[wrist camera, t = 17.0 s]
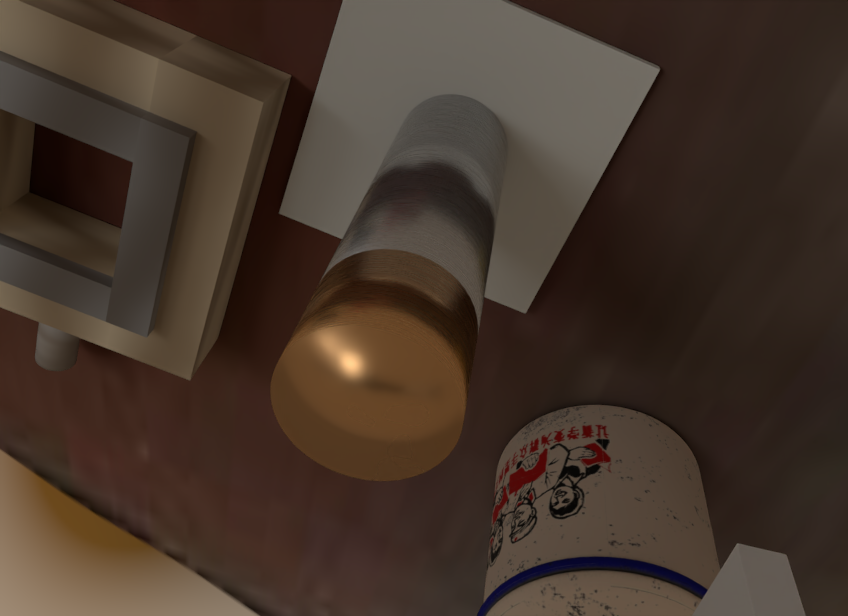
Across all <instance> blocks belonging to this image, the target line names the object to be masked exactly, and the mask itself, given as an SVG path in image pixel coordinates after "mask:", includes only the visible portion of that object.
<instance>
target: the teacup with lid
mask: <svg viewBox="0 0 848 616" xmlns="http://www.w3.org/2000/svg"><path fill="white" fill-rule="evenodd" d="M719 572H720V566H719V561H718V556H717V551H716V547H715V542H714V537H713V532H712V527H711V523H710V518H709V513H708V508H707V503H706V499H705V494H704V489H703V484H702V479H701V475H700V470H699V467H698V464H697V461H696V459H695V457H694V455H693V453H692V451H691V450H690V448H689V447H688V445H687V444H686V443H685V442H684V441H683V439H682V438H681V437H680V436H679V435H677V434H676V433H675V432H674V431H673V430H672V429H670V428H669V427H668V426H667V425H665V424H663V423H662V422H660V421H658V420H657V419H655V418H653V417H651V416H648V415H646V414H643V413H641V412H638V411H634V410H631V409H627V408H622V407H617V406H610V405H582V406H574V407H568V408H564V409H560V410H557V411H554V412H551V413H548V414H546V415H544V416H541V417H539V418H538V419H536V420H534V421H532V422H531V423H529V424H528V425H526V426H525V427H524V428H522V429H521V430H520V431H519V432H518V433H517V434H516V435H515V436H514V437H513V438H512V439H511V441H510V442H509V443H508V444H507V446H506V448H505V449H504V451H503V453H502V455H501V457H500V460H499V464H498V467H497V473H496V483H495V493H494V503H493V512H492V522H491V532H490V542H489V552H488V562H487V572H486V582H485V592H484V602H483V605H482V606H481V608H480V610H479V612H478V614H477V616H692V615H693V613H694V612H695V610H696V608H697V607H698V605H699V604H700V602H701V600H702V599H703V597H704V596H705V594H706V592H707V591H708V589H709V588H710V586H711V584H712V583H713V581H714V580H715V578H716V576H717V575H718V573H719Z"/></svg>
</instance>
